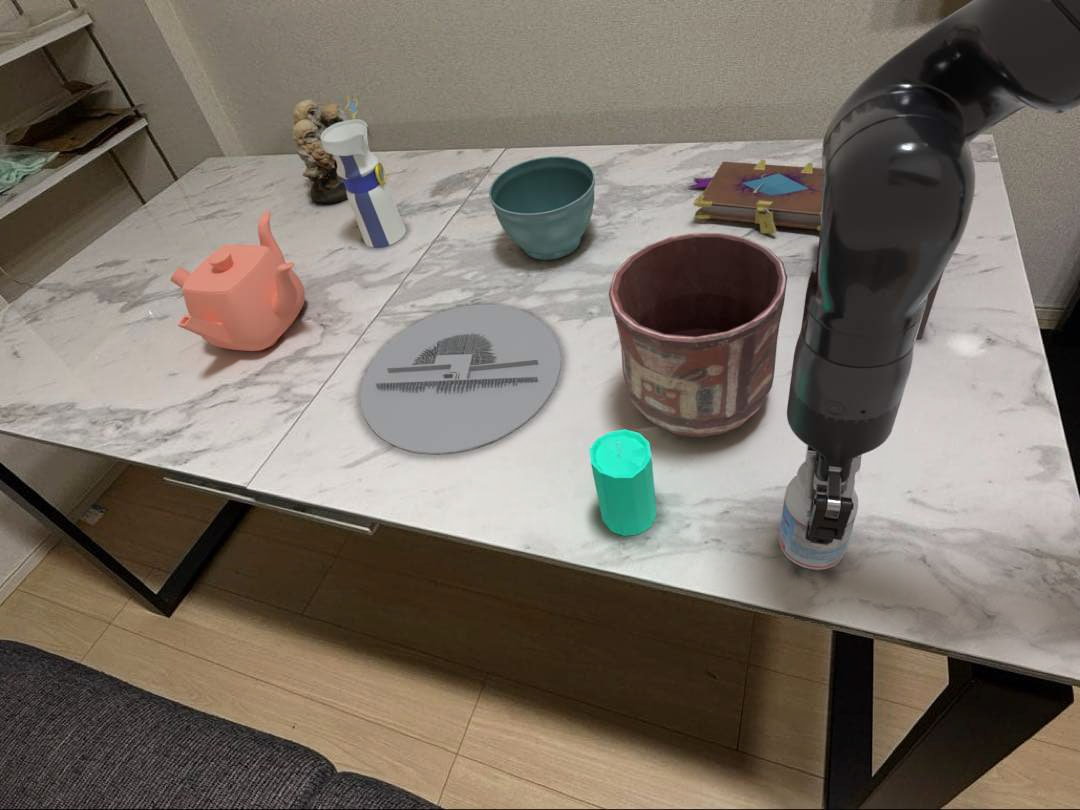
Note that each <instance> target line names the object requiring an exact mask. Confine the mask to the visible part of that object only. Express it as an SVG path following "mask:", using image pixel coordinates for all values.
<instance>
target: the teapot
mask: <svg viewBox="0 0 1080 810" xmlns="http://www.w3.org/2000/svg"><path fill="white" fill-rule="evenodd" d="M270 223H271V211H270V210H267V211H265V212H263V214H262V215H261V216H260V217H259V219H258V223H257V233H258V234H257V235H258V239H259V245H258V244H247V243H246V244H244V243H243V244H241V243H239V244H238V243H233V244H232V243H231V244H224V245H223V246H221V247H219V248H218V249H216V250H214V251H213V252H212V253H210V255H209V256H207V257H206V258H205V259H204V260H203V261H201V263H199V264H198V266H196V268H195V269H194V270H193V271H192V272H190V271H188V270H186V269H185V268H183V267H182V266H181V267H178V269H176V270H175V272H173V274H172V275H171V277H170V282H172V283H173V284H175V285H177V286H178V287H179V288H181V289H182V295H183V299H184V303H185V307H186V309H187V312H188V315H187V314H184V315H183V316H182V318H181V319H180V321H179V322H178V323H177V326H178V327H180V328H182V329H184V330H185V331H188V332H191V333H192V334H195V335H197V336H200V337H201V339H203V340H204V341H205V342H207V343H209V344H211V345H213V346H214V347H217V348H221V349H226V350H234V351H248V352H259V351H262V350H266V349H269V348H271V347H273V346H275V344H276V343H277V342H278V339H279V338H280V337H281V336H282V335H283V334H284V333H286V331H287V330H288V329H289V328H290V326H292V324H293V323H294V322H295V320H296V319H297V317H298V315H299V314H300V312H301V310H302V308H303V307H304V304H305V298H306V292H305V287H304V285H303V283H302V281H301V279H300V278H299V276H298V275H297V273H296V272H295V271H294V270H293V267H294V266H295V262H293V261H292V262H286V260H285V256H284V254H283V252H282V250H281V248H280V246H279V244H278V242H277V241H276V240H275V237H274V235H273V232H272V230H271V224H270Z"/></svg>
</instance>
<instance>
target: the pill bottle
mask: <svg viewBox="0 0 1080 810" xmlns="http://www.w3.org/2000/svg"><path fill="white" fill-rule="evenodd" d="M807 468H808V466H807V465H806V460H804V462H802V464H800V466H799V468H798V469H797V472H796V475H795V476H793V478H792V479H791V480H790V481H789V482H788V484H787V486H786V488H785V493H784V499H783V506H782V512H781V518H780V526H779V533H778V542H779V546H780V548H781V551H782V552H783V554H784V555H785V556H786V558H787V559H789V560H790V561H791V562H792V563H794V564H796V565H798V566H800V567H802V568H805V569H809V570H817V571H820V570H827V569H830V568H833V567H835V566H836V565H838V564H839V563H840V562H841V561H842V559H843V558H844V556H845V555H846V551H847V548H848V545H849V542H850V538H851V535H852V531H853V527H854V524H855V520H856V516H857V513H858V509H859V497H858V493H857V491H856V490H855V484H856V480H855V479H854V486H853V492H852V503H854V508H853V510H852V511H851V514H850V517H849V520H848V523H847V526H846V529H845V531H844V536H843V537H842V540H836V539H833V542H832V543H830V544H828V545H823V544H816V543H810V541H808V540H806V539H805V534H806V526H807V521H808V517H807V511H809V505H810V499H809V498H808V497H807V496H806V494H805V484H806V476H807ZM814 482H815V483H816V484H820V485H827V482H824V481H820V480H819V479H817V477H816V476H815V475H814ZM844 483H845V482H844ZM844 483H841V486H842V485H844Z"/></svg>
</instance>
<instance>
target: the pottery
mask: <svg viewBox="0 0 1080 810" xmlns="http://www.w3.org/2000/svg"><path fill="white" fill-rule="evenodd" d="M787 283H788V274H787V271H786V268H785V265H784V261H782V259H781V258H779V257H778V256H777V255H776V253H774V252H773V251H772V250H771V249H770V248H769V247H767V246H765V245H762V244H760V243H758V242H756V241H754V240H753V239H750V238H748V237H743V236H739V235H733V234H730V233H726V232H725V233H724V232H692V233H686V234H680V235H675V236H674V235H673V236H669V237H667V238H664V239H661V240H659V241H656V242H653V243H650V244H648V245H647V246H645V247H643V248H641V249H640V250H638V251H637V252H635V253H633V254H631V256H629V257H627V258H626V260H625V261H624V262H623V263H622V264H621V265H620V267H619V268H618V269H617V270H616V271H615V272H614V274H613V275H612V280H611V283H610V287H609V291H608V298H609V303H610V306H611V310H612V313H613V317H614V320H615V324H616V328H617V333H618V338H619V342H620V343H619V344H620V349H621V365H622V366H621V367H622V374H623V379H624V383H625V386H626V390H627V393H628V396H629V399H630V401H631V403H632V405H633V406H634V407H635V408H636V409H637V410H638V411H639V412H640V413H641V414H642V415H643V416H644V417H645V418H646V420H648V421H650V423H651V424H653V425H655V426H657V427H659V428H661V429H663V430H666V431H668V432H670V433H671V434H674V435H679V436H687V437H695V438H705V437H710V436H717V435H723V434H725V433H727V432H730V431H732V430H734V429H737V428H739V427H741V426H742V425H743V424H744V423H746V422H747V421H748V420H749V419H750V418H752V417H753V416H754V415H755V414H756V413H757V412H758V411H759V410H760V409H761V407H762V405H763V404H764V403H765V400H766V399H767V396H768V395H769V393H770V391H771V390H772V387H773V384H774V377H775V371H776V370H775V369H776V360H777V359H776V358H777V347H778V337H779V331H780V324H781V319H782V315H783V310H784V306H785V299H786V290H787Z"/></svg>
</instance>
